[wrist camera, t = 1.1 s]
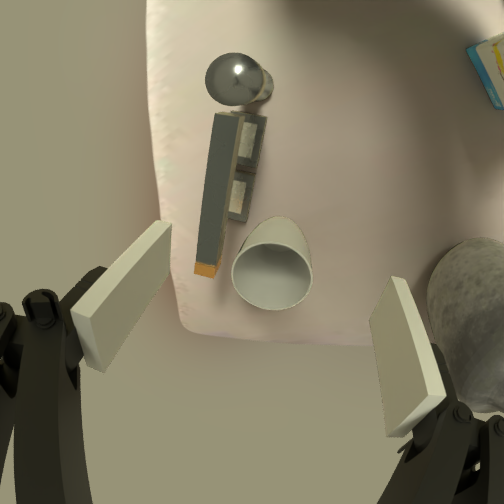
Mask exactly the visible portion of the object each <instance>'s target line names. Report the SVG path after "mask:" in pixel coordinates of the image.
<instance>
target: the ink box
mask: <svg viewBox="0 0 504 504" xmlns="http://www.w3.org/2000/svg"><path fill="white" fill-rule="evenodd" d="M466 52H467V54H468V55H469V57H470V59H471V61H472V63H473V65H474V67H475V69H476V71H477V73H478V75H479V77H480V79H481V81H482V83H483V85H484V87H485V89H486V91H487V93H488V95H489V97H490V99H491V101H492V104H493V106H494V108H495V109H500V110H504V32H502V33H500V34H498V35H495V36H493V37H491V38H489V39H486V40H484V41H482V42H480V43H478V44H475V45H473V46H471V47H469V48H467V49H466Z"/></svg>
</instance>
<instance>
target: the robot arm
mask: <svg viewBox="0 0 504 504" xmlns="http://www.w3.org/2000/svg"><path fill="white" fill-rule="evenodd" d="M171 231H172V223H168V222H163V221H159V220H156V221H155V222H154V223H153V224H152V225H151V226H150V227H149V228H148V229H147V230H146V231H145V232H144V233H143V234H142V235H141V236H140V237H139V238H138V239H137V240H136V241H135V242H134V243H133V244H132V245H131V246H130V247H129V248H128V249H127V250H126V251H125V252H124V253H123V254H122V255H121V256H120V257H119V258H118V259H117V260H116V261H115V262H114V263H113V264H112V265H111V266H110V267H109V268H105V267H101V266H99V267H97V268H95V269H93V270H91V271H89V272H88V273H87V274H86V275H85V276H84V277H83V278H82V279H81V281H79V282H78V283H77V284H76V285H75V287H73V288H72V289H71V290H70V291H69V292H68V293H67V294H66V295H65V296H64V298H63V299H62V300H61V301H60V302H59V300H58V296H57V295H56V294H55V292H53V291H51V290H48V289H39V290H35V291H33V292H31V293H29V294H28V295H27V296H26V297H25V298H24V299H23V301H22V305H23V308H24V311H25V314H26V316H20V315H15V313H14V311H13V308H12V307H11V306H10V304H7V303H4V302H0V359H1V360H0V483H1V478H2V473H3V468H4V463H5V458H6V454H7V450H8V445H9V441H10V437H11V434H12V430H13V427H14V478H15V492H16V502H17V504H93V503H92V497H91V492H90V487H89V481H88V474H87V468H86V460H85V452H84V441H83V430H82V415H81V391H80V367H79V362H80V360H81V359H82V358H83V356H84V359H85V362H86V364H87V366H89V367H91V368H93V369H95V370H98V371H100V372H102V373H105V371H106V370H107V368H108V367H109V365H110V364H111V362H112V360H113V359H114V357H115V355H116V354H117V352H118V350H119V349H120V347H121V346H122V344H123V343H124V341H125V340H126V338H127V337H128V335H129V333H130V332H131V330H132V329H133V327H134V326H135V324H136V323H137V321H138V319H139V318H140V316H141V315H142V313H143V312H144V310H145V309H146V307H147V306H148V304H149V303H150V301H151V300H152V298H153V297H154V295H155V294H156V292H157V291H158V290H159V288H160V287H161V285H162V284H163V282H164V281H165V279H166V278H167V276H168V275H169V273H170V251H171ZM369 322H370V328H371V333H372V338H373V344H374V350H375V355H376V361H377V367H378V374H379V381H380V388H381V395H382V403H383V411H384V420H385V430H386V437H404V436H405V435H407V434H408V433H409V432H410V431H411V430H412V432H413V438H412V439H411V440H410V441H408V442H407V443H406V444H405V445H404V446H402V447H401V448H400V449H399V450H398V452H397V453H401V452H402V451H403V450H404V449H405V450H404V453H403V455H402V457H401V459H400V461H399V463H398V465H397V467H396V469H395V471H394V473H393V475H392V477H391V479H390V481H389V483H388V485H387V486H386V488H385V490H384V492H383V494H382V496H381V497H380V499H379V501H378V503H377V504H504V418H503V417H502V416H500V415H494V416H492V417H491V418H490V419H489V420H488V421H486V422H485V421H482V420H479V419H476V418H474V416H473V414H472V411H471V410H470V408H469V407H468V406H467V405H466V404H465V403H463V402H460V401H458V398H457V395H456V392H455V388H454V385H453V382H452V379H451V376H450V373H449V370H448V367H447V365H446V361H445V358H444V355H443V353H442V352H441V350H440V349H439V348H438V346H437V345H436V344H432V343H430V342H429V339H428V336H427V333H426V331H425V328H424V325H423V322H422V320H421V317H420V315H419V312H418V309H417V307H416V304H415V302H414V299H413V297H412V295H411V292H410V290H409V287H408V285H407V283H406V280H405V279H402V278H398V277H394V276H391V277H390V279H389V281H388V284H387V286H386V288H385V290H384V292H383V294H382V296H381V298H380V300H379V302H378V304H377V306H376V308H375V310H374V312H373V314H372V316H371V317H370V319H369ZM1 357H2V358H1ZM479 462H480V469H479V470H477V471H476V470H475V465H476V464H478V463H479Z"/></svg>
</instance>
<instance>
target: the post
mask: <svg viewBox="0 0 504 504" xmlns="http://www.w3.org/2000/svg"><path fill="white" fill-rule="evenodd" d="M263 70H264V69H263ZM264 72H265V75H266V86H265V89H264V91H263V93H262V94H261V96H260V97H259V98H258V99H256V100H255V101H261V100H264V99H265V98H267V97H268V96H269V95H270V94H271V92H272V90H273V86H274V83H273V79H272V77H271V75H270V74H269V73H268V72H267V71H265V70H264Z"/></svg>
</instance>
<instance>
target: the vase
mask: <svg viewBox="0 0 504 504" xmlns="http://www.w3.org/2000/svg"><path fill="white" fill-rule="evenodd" d="M427 311H428V316H429V320H430V324H431V328H432V331H433V335H434V338H435V342H436V344H437V346H438V348H439V349H440V350H441V352H442V353H443V355H444V358H445V361H446V365H447V367H448V370H449V373H450V376H451V379H452V382H453V385H454V388H455V392H456V395H457V398H458V399H459V400H460V402H463V403H465V404H466V405H467V406H468V407H469V408H470V410H471V411H474V412H478V413H491V412H496V411H500V412H503V413H504V244H502V243H500V242H498V241H496V240H493V239H489V238H474V239H470V240H467V241H464V242H462V243H460V244H458V245H457V246H455V247H454V248H453V249H451V250H450V251H449V252H448V253H447V254H445V256H444V257H443V258H442V259H441V260H440V262H439V263H438V264H437V266H436V267H435V269H434V271H433V273H432V275H431V278H430V281H429V284H428V288H427Z"/></svg>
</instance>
